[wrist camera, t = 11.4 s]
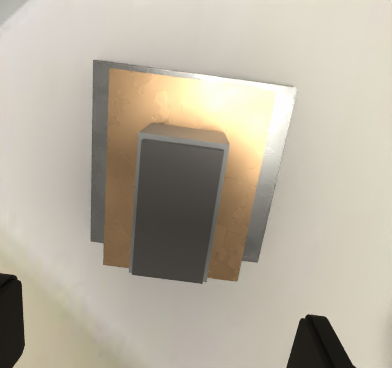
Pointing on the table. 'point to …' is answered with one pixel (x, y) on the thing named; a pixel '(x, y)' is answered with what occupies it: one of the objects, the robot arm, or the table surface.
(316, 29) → the table surface
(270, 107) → the cardboard on grey plate
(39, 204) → the table surface
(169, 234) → the block
